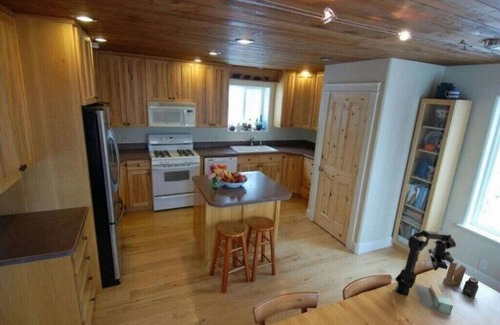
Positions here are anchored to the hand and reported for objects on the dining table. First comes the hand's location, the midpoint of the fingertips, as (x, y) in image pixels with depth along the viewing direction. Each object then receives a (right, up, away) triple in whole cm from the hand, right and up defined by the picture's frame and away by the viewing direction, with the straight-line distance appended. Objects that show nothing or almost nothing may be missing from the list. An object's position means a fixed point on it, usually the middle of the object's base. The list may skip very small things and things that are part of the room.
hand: (434, 269), depth 179 cm
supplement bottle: (+19, -15, -5) cm, 25 cm away
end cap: (-9, -16, -19) cm, 26 cm away
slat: (-5, -14, -9) cm, 17 cm away
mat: (-9, -15, -11) cm, 20 cm away
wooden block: (+16, -12, +5) cm, 20 cm away
